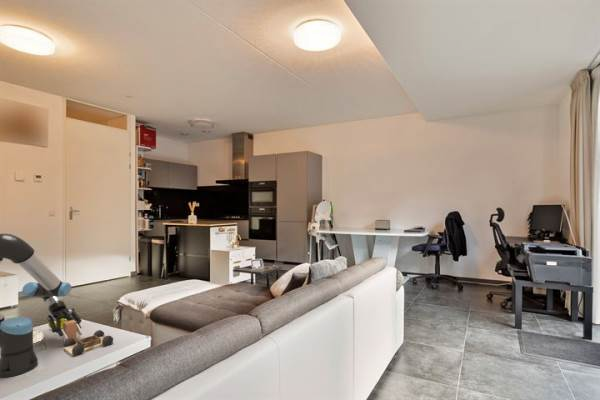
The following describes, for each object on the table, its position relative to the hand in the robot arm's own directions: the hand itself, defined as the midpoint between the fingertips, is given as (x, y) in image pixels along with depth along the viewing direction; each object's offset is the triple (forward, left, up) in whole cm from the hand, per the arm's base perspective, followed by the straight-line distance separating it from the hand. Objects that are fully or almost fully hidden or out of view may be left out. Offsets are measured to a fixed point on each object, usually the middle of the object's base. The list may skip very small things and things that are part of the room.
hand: (73, 337), depth 181 cm
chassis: (+4, -11, -4) cm, 12 cm away
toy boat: (+3, +31, -4) cm, 32 cm away
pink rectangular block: (-1, +3, -4) cm, 5 cm away
